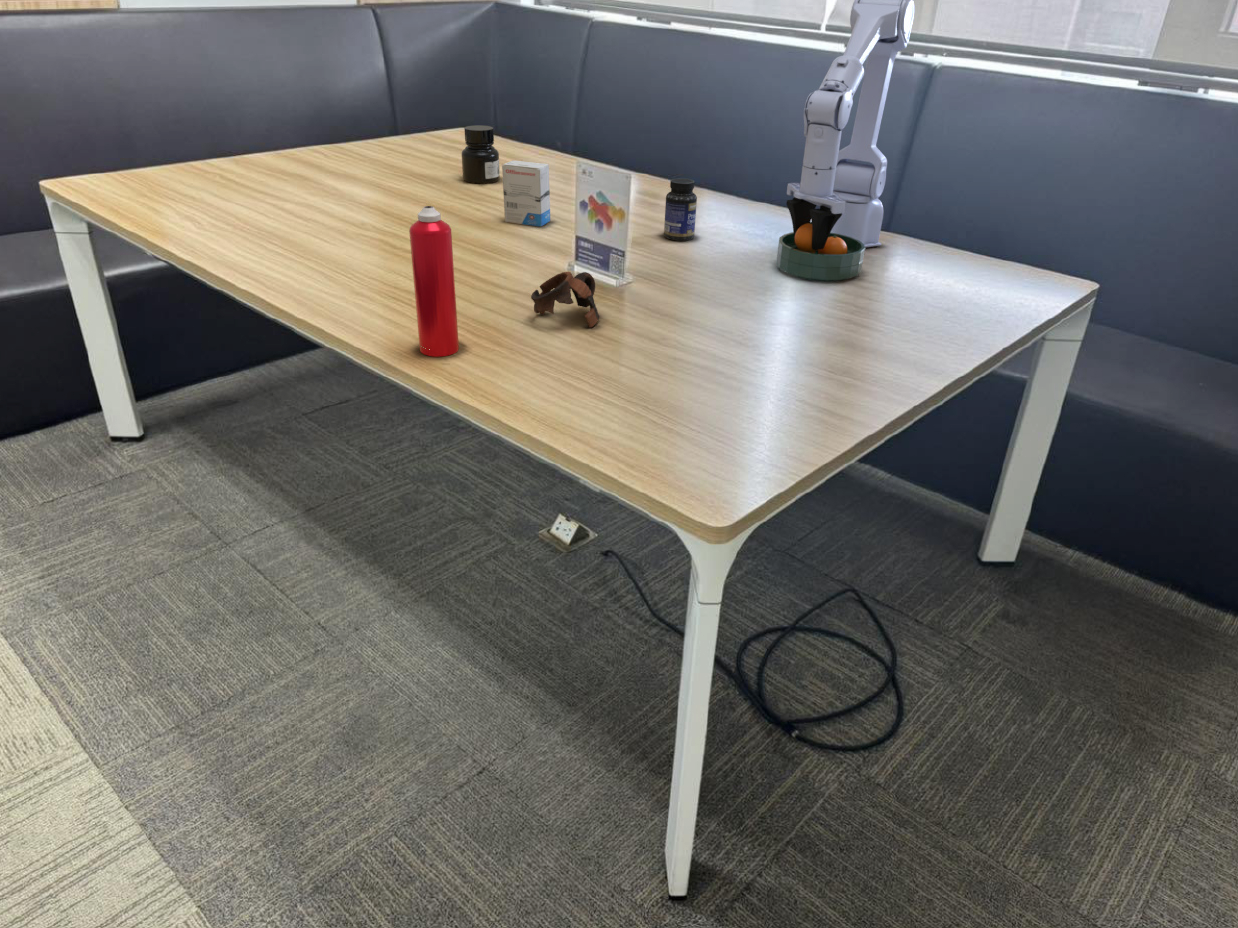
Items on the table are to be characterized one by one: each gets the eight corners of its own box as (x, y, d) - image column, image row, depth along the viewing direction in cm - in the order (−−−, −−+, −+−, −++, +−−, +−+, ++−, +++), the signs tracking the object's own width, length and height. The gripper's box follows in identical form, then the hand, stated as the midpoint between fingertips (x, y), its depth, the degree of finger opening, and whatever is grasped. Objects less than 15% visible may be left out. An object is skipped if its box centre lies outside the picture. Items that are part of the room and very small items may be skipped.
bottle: (424, 359, 124) (412, 214, 114) (416, 344, 128) (403, 203, 118) (463, 353, 126) (454, 210, 116) (453, 339, 130) (443, 200, 120)
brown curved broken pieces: (588, 338, 133) (560, 292, 130) (542, 351, 139) (514, 307, 136) (621, 295, 141) (595, 250, 137) (576, 309, 147) (550, 266, 143)
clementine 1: (811, 247, 164) (815, 217, 161) (828, 255, 160) (832, 224, 157) (787, 249, 162) (791, 219, 159) (803, 258, 158) (808, 227, 155)
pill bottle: (692, 242, 176) (696, 185, 171) (661, 240, 177) (664, 183, 172) (695, 234, 182) (700, 178, 176) (666, 231, 183) (669, 176, 177)
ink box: (551, 222, 187) (550, 163, 181) (540, 227, 182) (539, 168, 177) (514, 216, 189) (512, 159, 183) (503, 222, 185) (501, 163, 179)
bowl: (827, 253, 173) (831, 228, 170) (877, 278, 161) (882, 250, 158) (760, 261, 167) (763, 235, 164) (807, 287, 155) (811, 259, 153)
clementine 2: (833, 259, 167) (838, 230, 165) (850, 267, 163) (855, 238, 161) (810, 262, 166) (814, 233, 163) (827, 270, 162) (831, 241, 159)
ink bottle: (497, 185, 213) (494, 132, 207) (459, 184, 213) (456, 131, 207) (502, 176, 221) (500, 125, 215) (466, 175, 221) (463, 123, 215)
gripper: (776, 159, 158) (767, 235, 164) (825, 177, 146) (813, 258, 153) (809, 156, 160) (799, 232, 167) (860, 174, 149) (847, 254, 156)
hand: (808, 244), depth 160 cm, fingers closed on clementine 1, 5 cm apart
